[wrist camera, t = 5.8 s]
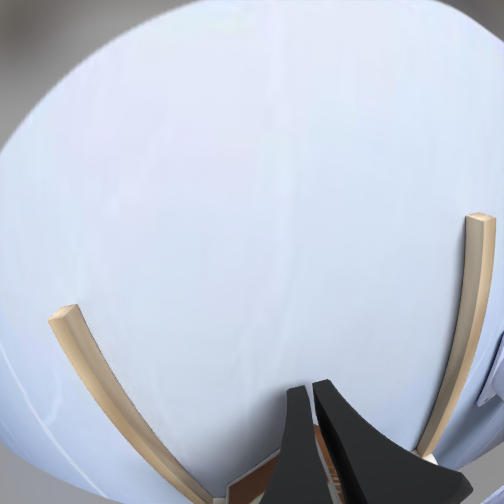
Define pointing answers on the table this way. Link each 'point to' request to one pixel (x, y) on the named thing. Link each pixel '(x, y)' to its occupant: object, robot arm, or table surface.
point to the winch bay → (155, 453)
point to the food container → (257, 479)
